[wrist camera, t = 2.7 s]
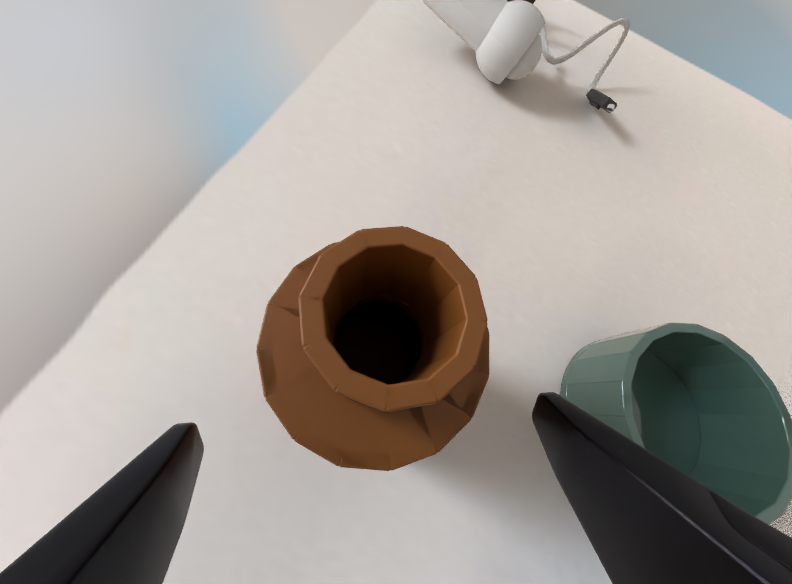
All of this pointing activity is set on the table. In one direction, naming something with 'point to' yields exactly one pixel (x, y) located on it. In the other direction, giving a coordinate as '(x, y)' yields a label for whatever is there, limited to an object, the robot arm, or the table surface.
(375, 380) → the bottle
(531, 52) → the clip-on lamp
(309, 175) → the table surface
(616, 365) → the cup
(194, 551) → the table surface
